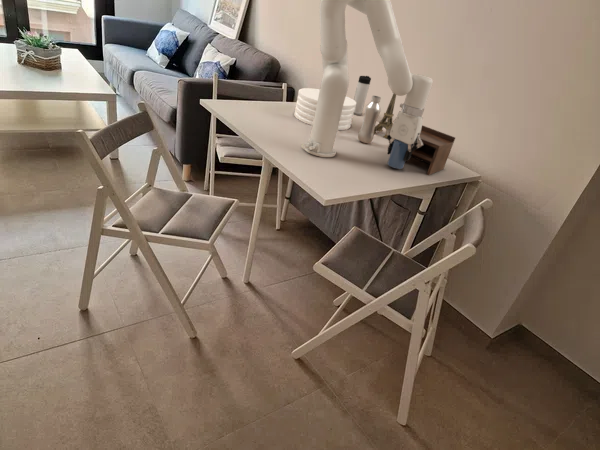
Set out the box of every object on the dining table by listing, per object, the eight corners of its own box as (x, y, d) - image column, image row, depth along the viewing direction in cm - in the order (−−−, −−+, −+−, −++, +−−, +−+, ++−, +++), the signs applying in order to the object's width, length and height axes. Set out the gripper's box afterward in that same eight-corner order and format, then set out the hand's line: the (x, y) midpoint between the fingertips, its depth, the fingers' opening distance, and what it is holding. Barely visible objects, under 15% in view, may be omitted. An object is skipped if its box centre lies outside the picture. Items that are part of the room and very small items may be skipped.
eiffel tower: (377, 129, 210) (392, 78, 198) (396, 135, 206) (413, 84, 194) (368, 131, 202) (383, 78, 190) (388, 139, 197) (405, 85, 185)
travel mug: (363, 114, 232) (373, 77, 222) (358, 116, 226) (368, 78, 217) (353, 111, 234) (362, 74, 224) (348, 112, 229) (357, 75, 219)
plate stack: (351, 119, 216) (356, 97, 211) (349, 134, 192) (356, 109, 186) (298, 107, 217) (302, 84, 211) (290, 120, 192) (294, 95, 187)
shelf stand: (428, 175, 163) (441, 141, 156) (393, 160, 171) (404, 127, 165) (443, 169, 173) (455, 137, 167) (409, 155, 181) (420, 124, 175)
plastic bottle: (371, 146, 182) (384, 100, 173) (356, 142, 183) (368, 96, 173) (371, 142, 188) (384, 97, 178) (357, 138, 188) (369, 93, 179)
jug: (396, 170, 157) (404, 145, 153) (382, 164, 161) (390, 139, 156) (409, 166, 165) (417, 142, 160) (395, 160, 168) (403, 136, 163)
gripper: (387, 104, 154) (374, 150, 162) (429, 119, 145) (413, 167, 153) (397, 103, 159) (383, 147, 168) (438, 117, 150) (422, 164, 159)
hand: (397, 156), depth 160 cm, fingers closed on jug, 6 cm apart
